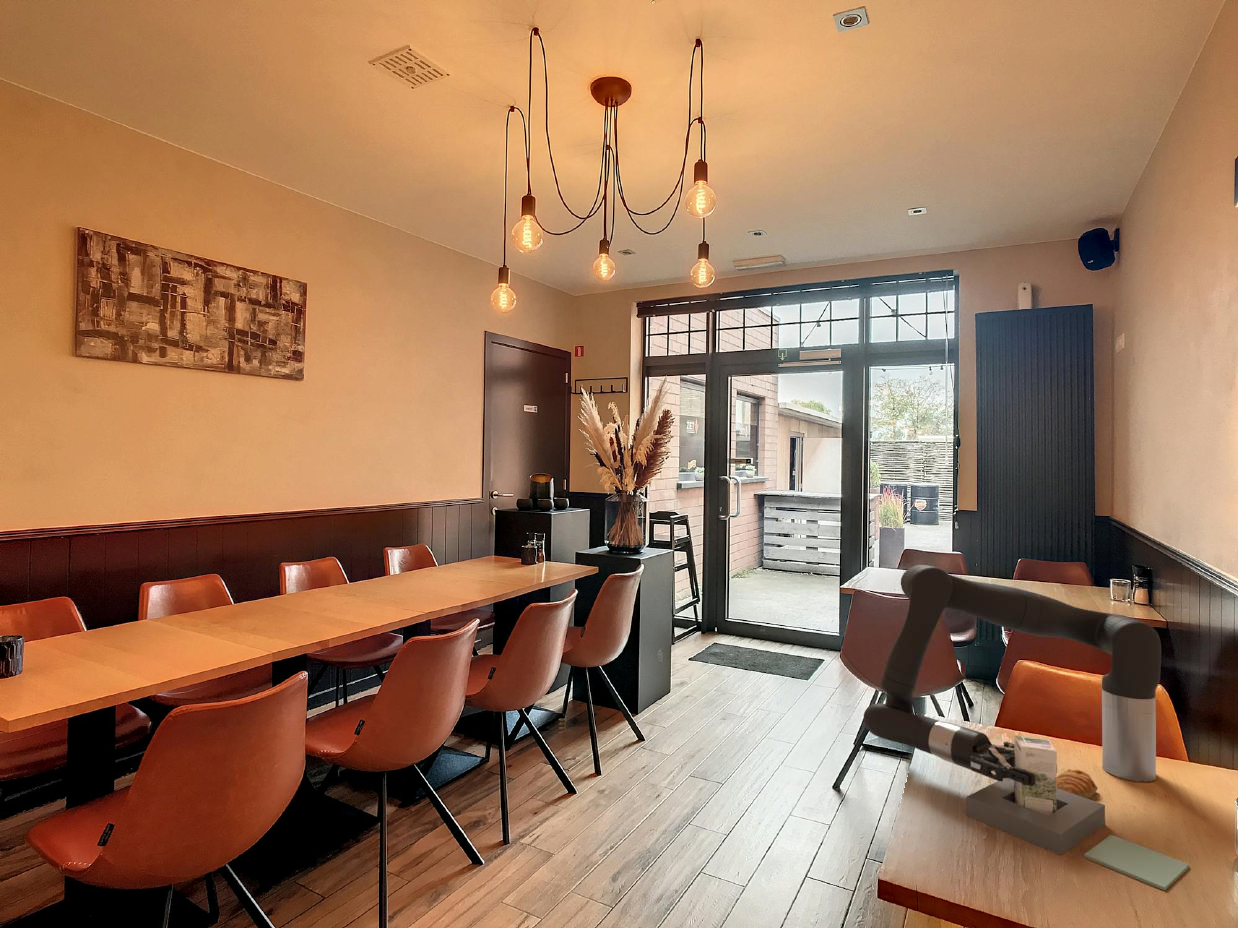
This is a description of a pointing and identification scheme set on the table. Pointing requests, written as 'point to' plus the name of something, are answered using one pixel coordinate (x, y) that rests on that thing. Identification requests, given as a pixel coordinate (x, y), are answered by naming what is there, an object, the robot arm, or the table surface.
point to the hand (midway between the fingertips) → (1045, 774)
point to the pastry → (1076, 783)
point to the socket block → (1037, 816)
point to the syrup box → (1036, 774)
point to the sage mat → (1137, 862)
